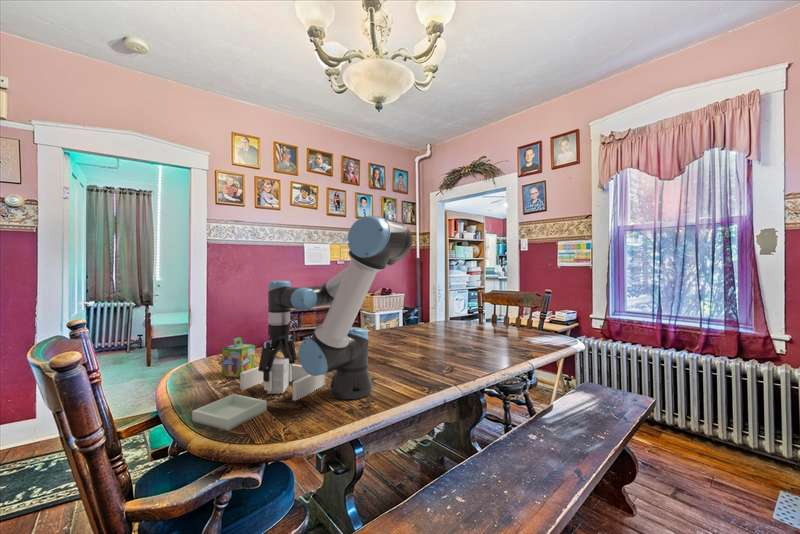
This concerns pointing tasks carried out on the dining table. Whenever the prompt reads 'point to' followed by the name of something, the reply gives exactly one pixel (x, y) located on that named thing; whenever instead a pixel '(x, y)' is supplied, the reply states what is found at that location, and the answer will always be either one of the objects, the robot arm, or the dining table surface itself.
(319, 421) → the dining table surface
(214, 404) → the tray
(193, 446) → the dining table surface
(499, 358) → the dining table surface
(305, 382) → the bay
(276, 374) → the small box
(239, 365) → the chalk box
